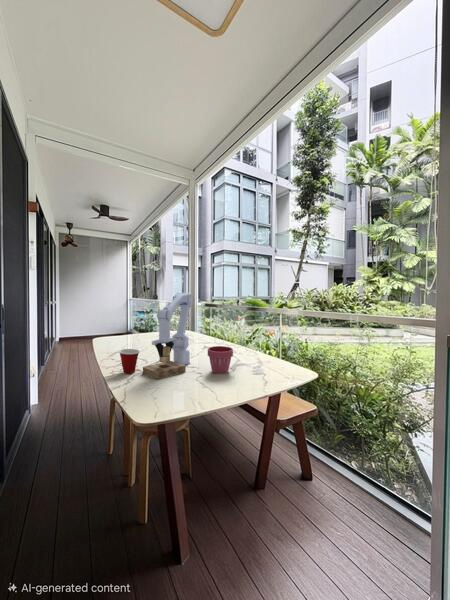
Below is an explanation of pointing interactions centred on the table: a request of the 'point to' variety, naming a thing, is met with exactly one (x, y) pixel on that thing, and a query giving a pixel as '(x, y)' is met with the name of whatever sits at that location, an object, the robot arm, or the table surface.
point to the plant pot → (220, 358)
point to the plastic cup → (129, 360)
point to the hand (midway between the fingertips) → (164, 356)
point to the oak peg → (165, 355)
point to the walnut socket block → (164, 369)
